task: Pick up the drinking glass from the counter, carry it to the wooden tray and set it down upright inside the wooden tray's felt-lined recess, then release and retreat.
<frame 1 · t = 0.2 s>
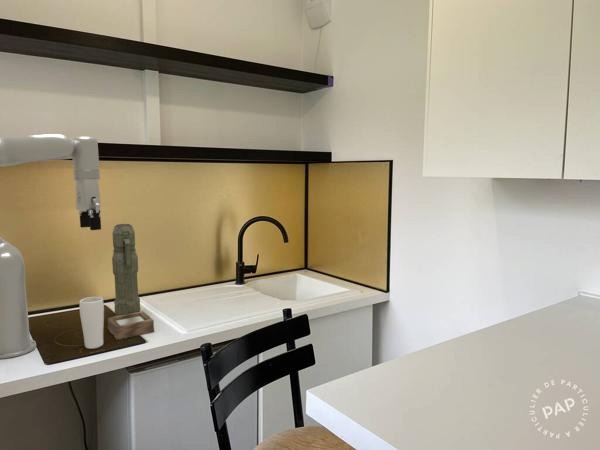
hand: (90, 228, 144), 36 cm above the counter, tool pointing down, fingers open, 9 cm apart
stone statue: (128, 318, 165), on the counter
drinking glass: (94, 346, 138), on the counter
wooden tray: (130, 330, 152), on the counter
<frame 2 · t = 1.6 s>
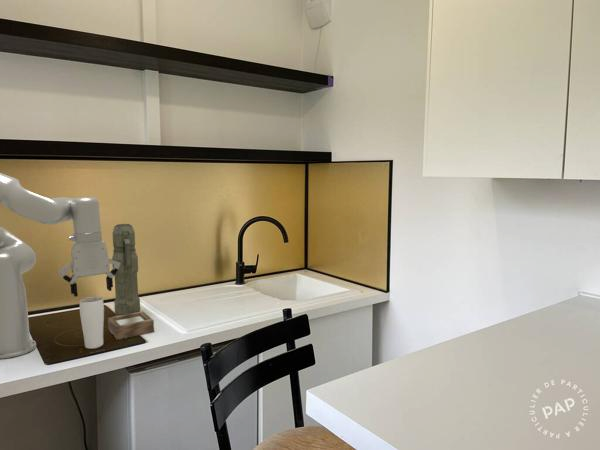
hand: (92, 292, 136), 17 cm above the counter, tool pointing down, fingers open, 9 cm apart
nothing on the counter moved.
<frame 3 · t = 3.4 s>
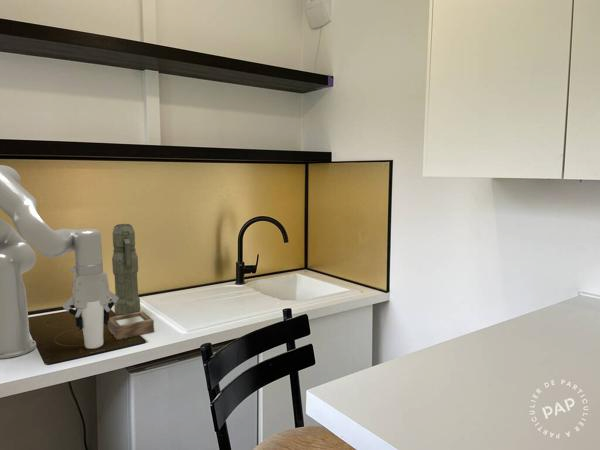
hand: (93, 325, 138), 7 cm above the counter, tool pointing down, fingers closed on drinking glass, 6 cm apart
drinking glass: (94, 346, 138), on the counter, touching gripper
everything else where it was.
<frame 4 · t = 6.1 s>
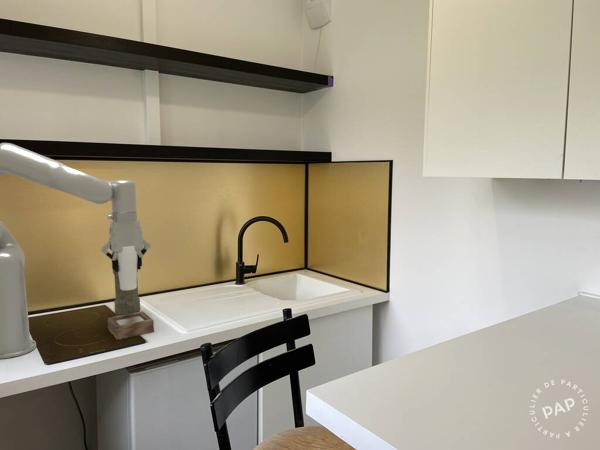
hand: (127, 269, 149), 21 cm above the counter, tool pointing down, fingers closed on drinking glass, 6 cm apart
drinking glass: (128, 289, 150), point 15 cm above the counter, touching gripper
everything else where it was.
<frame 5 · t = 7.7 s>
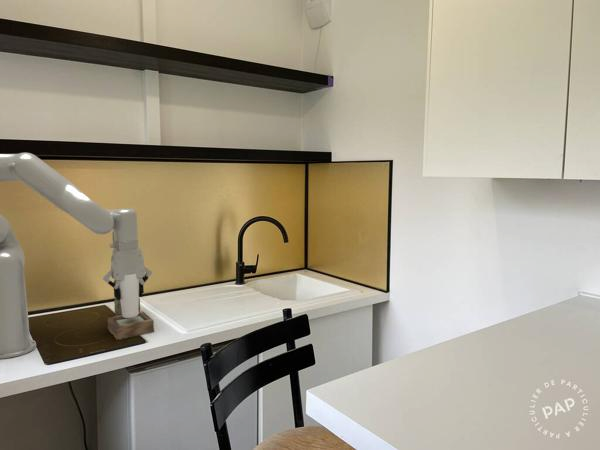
hand: (129, 297, 150), 12 cm above the counter, tool pointing down, fingers closed on drinking glass, 6 cm apart
drinking glass: (130, 316, 151), point 5 cm above the counter, touching gripper
everything else where it was.
when the fingers open (10 cm above the counter, at t = 8.9 s): drinking glass stays where it is, resting on wooden tray.
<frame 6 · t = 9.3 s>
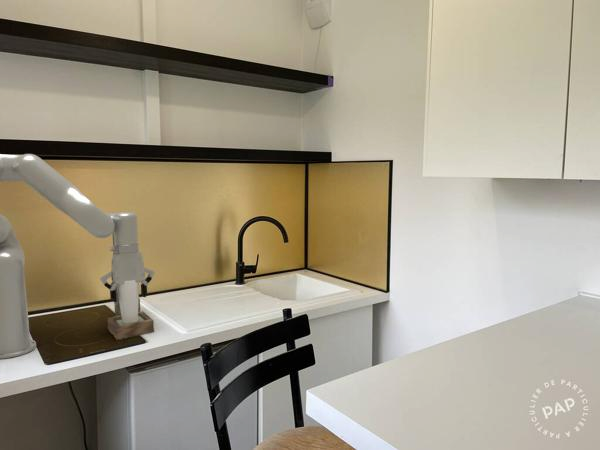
hand: (129, 298, 150), 11 cm above the counter, tool pointing down, fingers open, 9 cm apart
drinking glass: (130, 322, 151), point 3 cm above the counter, touching wooden tray
everything else where it was.
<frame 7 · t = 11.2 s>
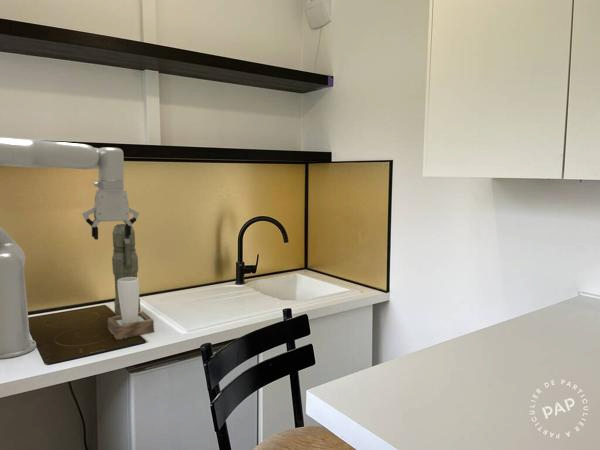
hand: (111, 238, 145), 32 cm above the counter, tool pointing down, fingers open, 9 cm apart
nothing on the counter moved.
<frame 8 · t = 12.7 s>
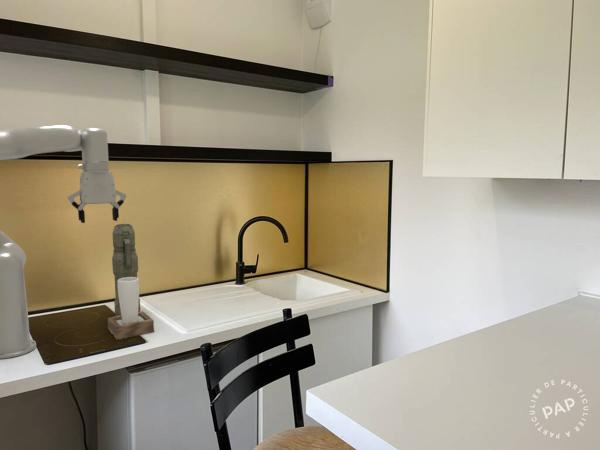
hand: (99, 221, 142), 38 cm above the counter, tool pointing down, fingers open, 9 cm apart
nothing on the counter moved.
at the end: drinking glass 0.1 cm off-centre on the wooden tray, point 2.9 cm above the wooden tray's base; drinking glass tilted 0°; the gripper is holding nothing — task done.
